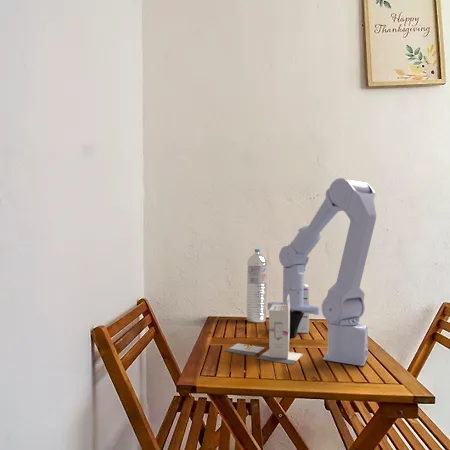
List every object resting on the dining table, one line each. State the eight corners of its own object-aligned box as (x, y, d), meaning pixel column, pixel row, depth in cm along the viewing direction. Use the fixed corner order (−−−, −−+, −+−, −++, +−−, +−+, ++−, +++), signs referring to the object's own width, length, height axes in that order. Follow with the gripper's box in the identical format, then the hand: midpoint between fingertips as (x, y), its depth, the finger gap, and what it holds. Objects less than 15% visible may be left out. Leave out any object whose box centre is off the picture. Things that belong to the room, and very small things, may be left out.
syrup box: (309, 333, 122) (309, 286, 122) (289, 332, 122) (290, 285, 123) (308, 329, 127) (309, 284, 127) (289, 328, 128) (290, 283, 128)
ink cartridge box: (270, 347, 105) (271, 292, 106) (289, 349, 104) (290, 293, 105) (267, 357, 97) (268, 297, 97) (288, 359, 96) (289, 298, 96)
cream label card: (303, 354, 100) (303, 353, 100) (292, 364, 92) (292, 364, 92) (269, 349, 104) (269, 348, 104) (257, 358, 96) (257, 358, 96)
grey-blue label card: (264, 347, 105) (264, 347, 105) (253, 356, 98) (253, 355, 98) (237, 343, 109) (237, 343, 109) (224, 351, 102) (224, 350, 102)
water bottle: (256, 317, 142) (257, 248, 143) (270, 321, 137) (271, 249, 138) (242, 320, 138) (243, 248, 139) (256, 324, 133) (257, 249, 133)
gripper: (322, 289, 112) (321, 337, 112) (273, 285, 118) (272, 331, 118) (316, 292, 105) (315, 343, 105) (265, 288, 112) (264, 336, 112)
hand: (292, 337), depth 111 cm, fingers closed
